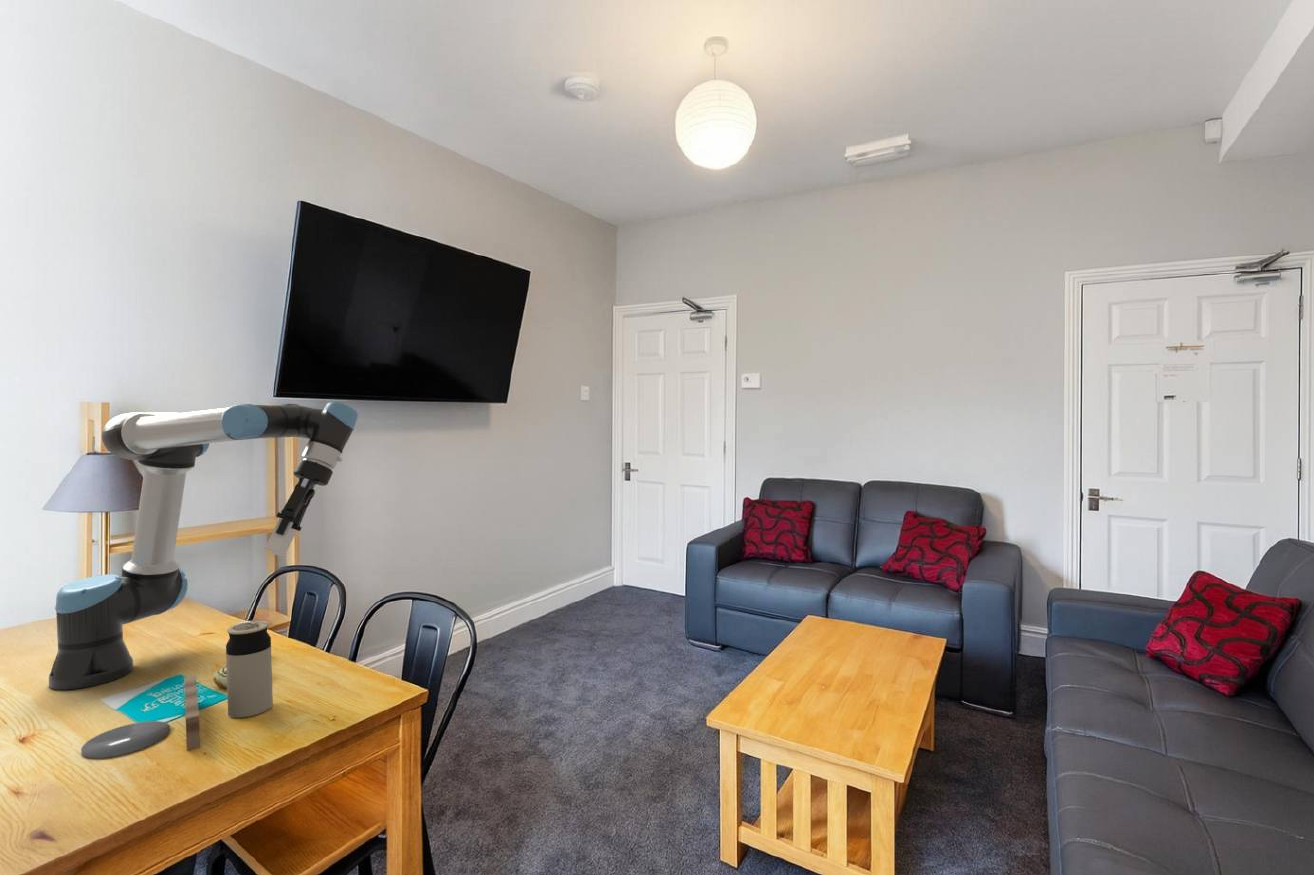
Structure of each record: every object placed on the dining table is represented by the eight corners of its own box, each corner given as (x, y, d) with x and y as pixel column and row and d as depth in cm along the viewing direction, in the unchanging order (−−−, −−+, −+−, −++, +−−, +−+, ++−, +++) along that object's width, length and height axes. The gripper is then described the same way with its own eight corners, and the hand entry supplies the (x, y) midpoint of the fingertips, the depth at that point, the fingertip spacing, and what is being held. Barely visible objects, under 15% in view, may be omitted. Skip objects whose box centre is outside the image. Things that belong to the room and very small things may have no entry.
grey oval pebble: (61, 760, 113) (61, 757, 113) (118, 725, 126) (118, 722, 126) (136, 757, 114) (136, 753, 114) (185, 722, 127) (185, 719, 127)
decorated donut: (225, 696, 140) (225, 679, 140) (206, 685, 146) (205, 669, 146) (275, 680, 148) (275, 664, 148) (255, 669, 155) (254, 654, 154)
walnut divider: (200, 747, 118) (199, 715, 117) (186, 750, 116) (185, 718, 116) (196, 702, 137) (195, 675, 136) (185, 704, 135) (184, 677, 135)
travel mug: (239, 722, 127) (236, 635, 127) (220, 713, 131) (218, 628, 131) (280, 707, 134) (277, 623, 133) (261, 698, 138) (258, 617, 138)
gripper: (333, 459, 137) (289, 552, 129) (334, 480, 158) (296, 561, 150) (296, 446, 134) (249, 541, 126) (303, 470, 156) (262, 552, 148)
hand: (275, 552), depth 138 cm, fingers open, 13 cm apart
